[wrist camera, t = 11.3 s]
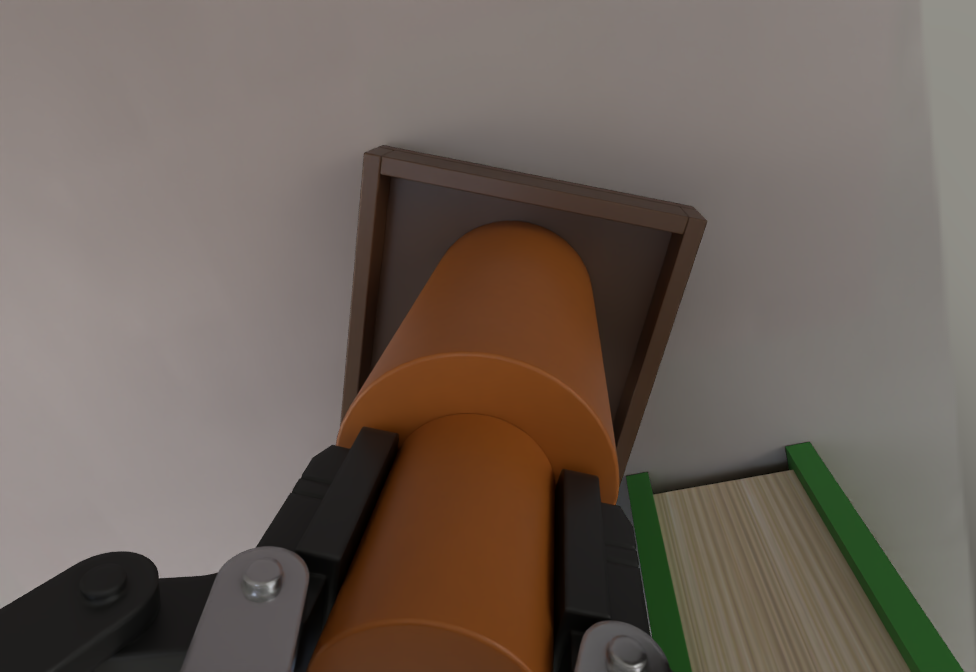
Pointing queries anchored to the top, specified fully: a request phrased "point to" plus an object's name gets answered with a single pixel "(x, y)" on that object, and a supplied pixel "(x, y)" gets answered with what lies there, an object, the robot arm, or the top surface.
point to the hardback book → (775, 578)
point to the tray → (537, 200)
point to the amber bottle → (475, 461)
